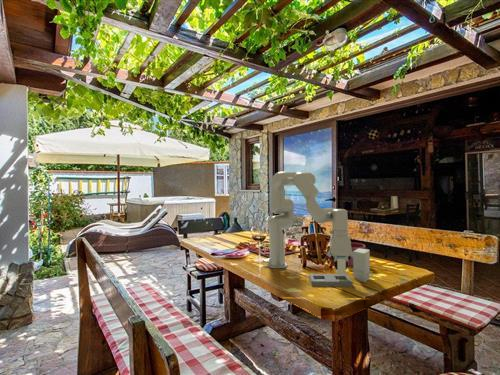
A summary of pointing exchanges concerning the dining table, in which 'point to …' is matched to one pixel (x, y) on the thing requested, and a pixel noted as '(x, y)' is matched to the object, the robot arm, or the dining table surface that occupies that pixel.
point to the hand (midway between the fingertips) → (340, 268)
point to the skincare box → (361, 264)
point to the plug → (341, 265)
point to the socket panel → (330, 280)
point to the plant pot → (354, 247)
